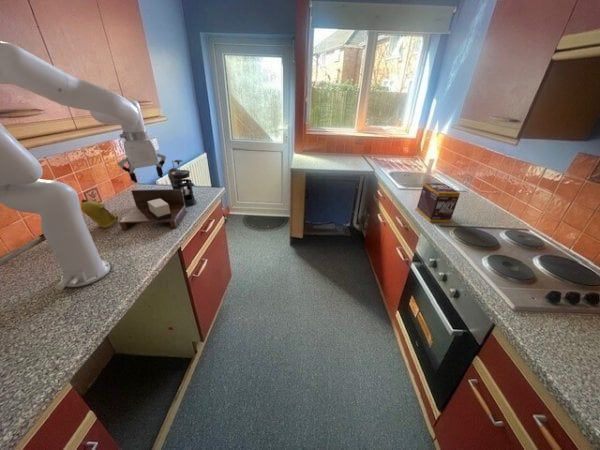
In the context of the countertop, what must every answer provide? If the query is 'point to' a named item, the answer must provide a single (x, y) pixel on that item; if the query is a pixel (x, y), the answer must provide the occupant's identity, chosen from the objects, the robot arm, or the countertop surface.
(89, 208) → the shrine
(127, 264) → the countertop surface
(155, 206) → the beige cuboid
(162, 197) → the shoe shelf
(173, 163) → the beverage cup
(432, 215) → the supplement box
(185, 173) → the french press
